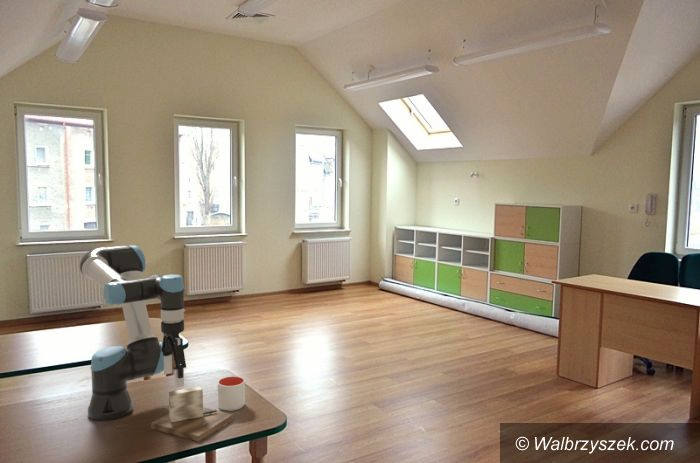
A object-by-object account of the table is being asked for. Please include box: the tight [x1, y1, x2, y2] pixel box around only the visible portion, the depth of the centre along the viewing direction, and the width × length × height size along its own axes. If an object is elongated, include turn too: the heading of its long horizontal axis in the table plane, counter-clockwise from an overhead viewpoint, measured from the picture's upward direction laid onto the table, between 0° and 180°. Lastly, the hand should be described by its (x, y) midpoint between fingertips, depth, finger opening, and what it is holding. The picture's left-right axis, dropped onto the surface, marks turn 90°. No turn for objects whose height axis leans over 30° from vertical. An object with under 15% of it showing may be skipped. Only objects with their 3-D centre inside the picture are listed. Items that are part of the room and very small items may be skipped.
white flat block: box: [168, 386, 218, 422], centre depth 191 cm, size 16×3×10 cm, turn 117°
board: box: [150, 406, 234, 443], centre depth 191 cm, size 21×18×2 cm
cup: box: [217, 376, 246, 412], centre depth 205 cm, size 10×10×10 cm
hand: (173, 379), depth 187 cm, fingers open, 13 cm apart
